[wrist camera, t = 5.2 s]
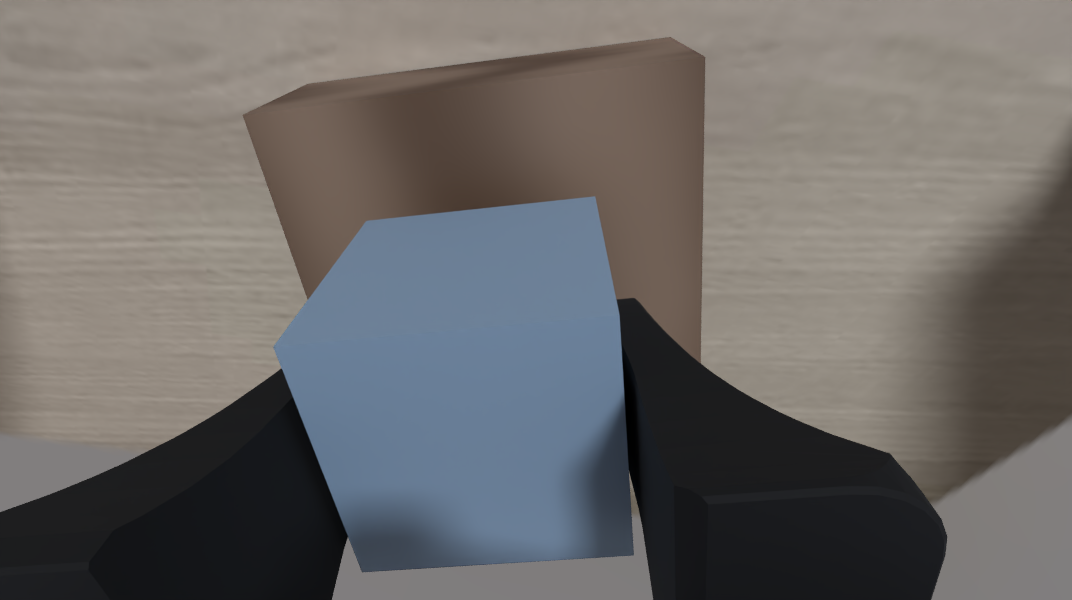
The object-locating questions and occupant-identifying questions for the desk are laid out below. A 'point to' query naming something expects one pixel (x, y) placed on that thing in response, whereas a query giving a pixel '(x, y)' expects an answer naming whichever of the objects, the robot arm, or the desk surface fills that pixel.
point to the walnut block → (506, 158)
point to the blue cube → (469, 388)
